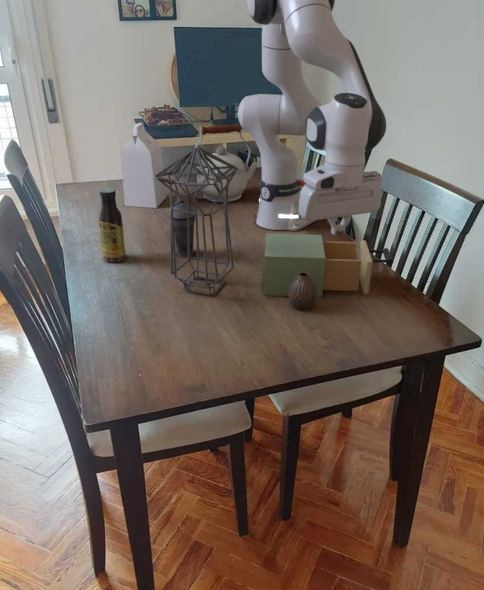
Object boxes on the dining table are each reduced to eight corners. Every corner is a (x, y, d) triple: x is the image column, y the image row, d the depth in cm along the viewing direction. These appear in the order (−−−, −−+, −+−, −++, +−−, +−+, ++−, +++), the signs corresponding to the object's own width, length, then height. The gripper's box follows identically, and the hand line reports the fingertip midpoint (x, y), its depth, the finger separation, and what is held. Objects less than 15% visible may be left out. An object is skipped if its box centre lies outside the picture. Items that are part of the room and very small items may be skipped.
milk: (136, 195, 203) (127, 120, 188) (166, 197, 202) (160, 122, 187) (124, 205, 193) (114, 127, 178) (156, 208, 192) (149, 129, 177)
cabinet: (318, 271, 152) (321, 234, 146) (322, 297, 140) (325, 257, 134) (265, 270, 152) (266, 233, 146) (264, 295, 140) (264, 256, 134)
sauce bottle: (99, 261, 154) (87, 191, 143) (111, 252, 159) (101, 184, 148) (119, 265, 153) (109, 194, 142) (131, 256, 158) (122, 187, 147)
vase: (301, 316, 131) (303, 283, 126) (282, 305, 136) (283, 273, 131) (321, 307, 135) (324, 275, 130) (302, 296, 139) (304, 265, 135)
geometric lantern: (218, 306, 135) (213, 160, 115) (161, 294, 139) (147, 151, 120) (242, 279, 147) (242, 143, 128) (190, 269, 151) (181, 136, 132)
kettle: (202, 207, 193) (198, 133, 179) (187, 192, 207) (182, 121, 193) (267, 199, 201) (268, 128, 188) (248, 185, 215) (248, 117, 202)
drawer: (382, 271, 151) (387, 240, 146) (391, 294, 140) (396, 262, 135) (312, 269, 151) (314, 238, 146) (314, 292, 140) (317, 260, 135)
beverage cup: (193, 260, 157) (188, 190, 145) (168, 257, 158) (162, 188, 147) (200, 250, 162) (197, 182, 151) (177, 247, 164) (172, 180, 153)
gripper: (375, 166, 128) (367, 223, 136) (296, 175, 121) (293, 234, 129) (390, 173, 123) (382, 232, 131) (310, 183, 116) (306, 244, 124)
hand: (337, 233), depth 130 cm, fingers closed
